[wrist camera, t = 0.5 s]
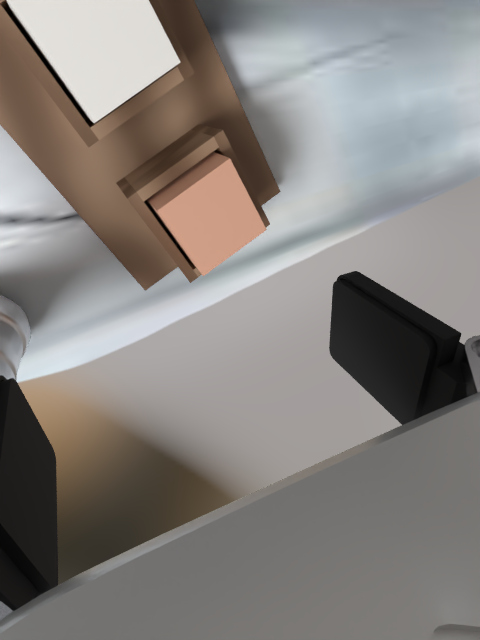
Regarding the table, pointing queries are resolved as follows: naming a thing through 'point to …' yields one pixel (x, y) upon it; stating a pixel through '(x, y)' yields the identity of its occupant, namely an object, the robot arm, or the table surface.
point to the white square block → (98, 47)
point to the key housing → (132, 138)
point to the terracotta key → (208, 212)
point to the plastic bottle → (12, 337)
